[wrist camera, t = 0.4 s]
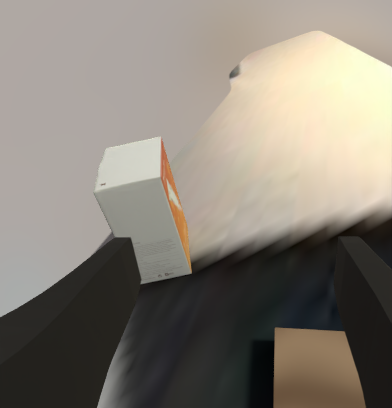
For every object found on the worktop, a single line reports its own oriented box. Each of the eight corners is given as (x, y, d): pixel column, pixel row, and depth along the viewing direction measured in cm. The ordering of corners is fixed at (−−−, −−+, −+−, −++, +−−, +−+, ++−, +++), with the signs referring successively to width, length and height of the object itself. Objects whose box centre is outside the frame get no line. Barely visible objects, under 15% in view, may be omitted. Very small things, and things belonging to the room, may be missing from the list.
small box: (193, 275, 38) (161, 176, 30) (136, 286, 38) (90, 192, 30) (188, 225, 44) (161, 134, 36) (140, 236, 45) (102, 147, 37)
